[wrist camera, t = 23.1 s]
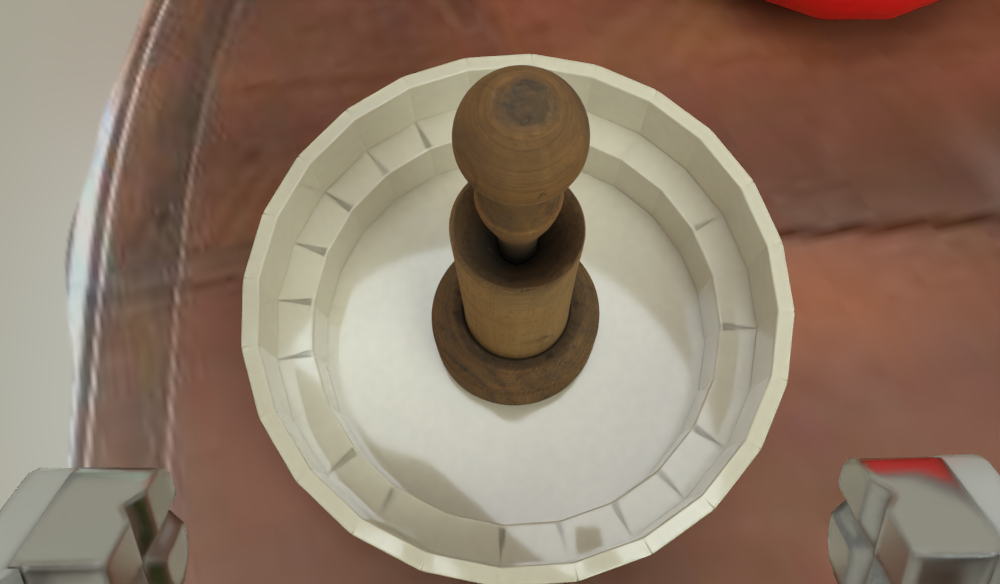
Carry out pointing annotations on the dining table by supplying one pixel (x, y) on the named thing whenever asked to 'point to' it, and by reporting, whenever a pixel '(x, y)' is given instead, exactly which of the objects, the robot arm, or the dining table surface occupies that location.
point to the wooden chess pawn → (517, 241)
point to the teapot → (853, 8)
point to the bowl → (532, 427)
